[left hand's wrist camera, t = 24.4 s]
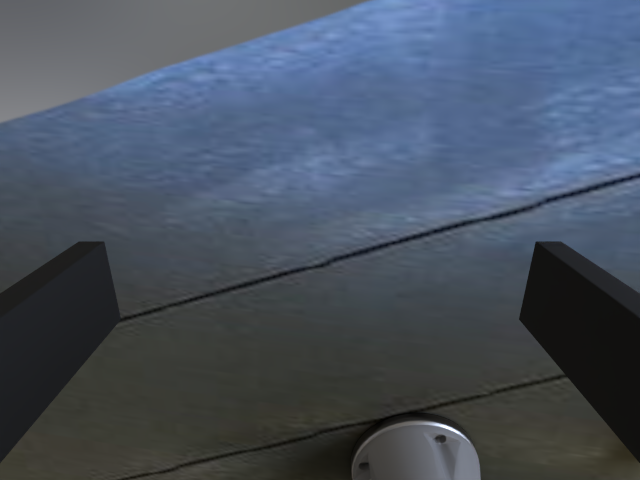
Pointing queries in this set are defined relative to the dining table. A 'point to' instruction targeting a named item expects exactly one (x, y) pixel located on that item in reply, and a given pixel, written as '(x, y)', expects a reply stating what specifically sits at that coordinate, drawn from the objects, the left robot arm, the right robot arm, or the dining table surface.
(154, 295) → the dining table surface
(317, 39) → the dining table surface
